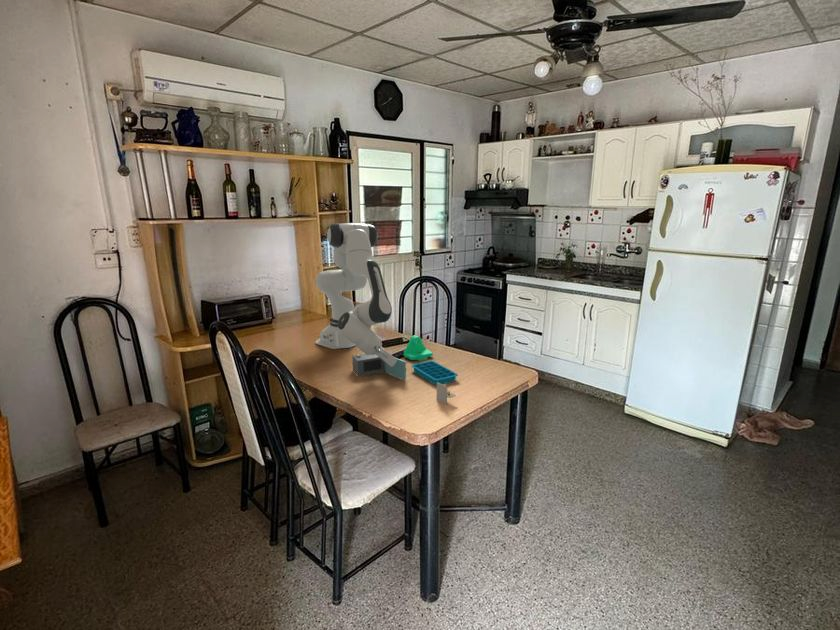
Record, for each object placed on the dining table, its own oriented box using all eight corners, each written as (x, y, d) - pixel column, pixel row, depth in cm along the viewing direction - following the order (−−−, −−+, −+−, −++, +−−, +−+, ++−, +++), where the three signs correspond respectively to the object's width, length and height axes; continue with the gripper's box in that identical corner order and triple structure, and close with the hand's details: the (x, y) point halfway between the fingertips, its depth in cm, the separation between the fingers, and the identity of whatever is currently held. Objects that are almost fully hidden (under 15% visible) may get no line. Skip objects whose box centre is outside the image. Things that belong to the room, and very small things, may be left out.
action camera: (384, 365, 197) (383, 349, 195) (390, 370, 191) (390, 354, 189) (352, 370, 191) (352, 354, 189) (358, 376, 184) (357, 359, 183)
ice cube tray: (432, 366, 197) (432, 360, 196) (459, 381, 180) (459, 374, 180) (410, 371, 191) (410, 365, 191) (435, 387, 175) (435, 380, 174)
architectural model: (442, 398, 165) (443, 379, 163) (455, 404, 160) (456, 385, 158) (436, 400, 163) (436, 382, 161) (448, 407, 158) (449, 388, 156)
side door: (383, 372, 189) (383, 354, 187) (385, 371, 190) (385, 353, 188) (404, 380, 180) (404, 362, 178) (406, 379, 181) (406, 361, 179)
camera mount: (412, 362, 202) (412, 341, 199) (403, 357, 208) (403, 337, 206) (433, 357, 208) (433, 337, 206) (424, 353, 214) (424, 333, 212)
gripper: (385, 345, 166) (408, 365, 173) (367, 331, 184) (389, 350, 191) (374, 357, 166) (398, 377, 172) (357, 343, 183) (379, 361, 190)
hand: (393, 363), depth 182 cm, fingers closed
